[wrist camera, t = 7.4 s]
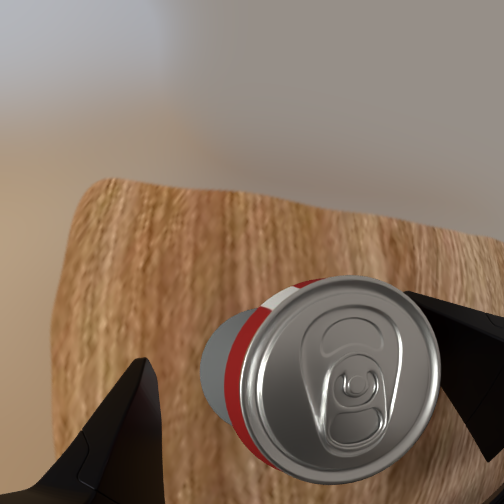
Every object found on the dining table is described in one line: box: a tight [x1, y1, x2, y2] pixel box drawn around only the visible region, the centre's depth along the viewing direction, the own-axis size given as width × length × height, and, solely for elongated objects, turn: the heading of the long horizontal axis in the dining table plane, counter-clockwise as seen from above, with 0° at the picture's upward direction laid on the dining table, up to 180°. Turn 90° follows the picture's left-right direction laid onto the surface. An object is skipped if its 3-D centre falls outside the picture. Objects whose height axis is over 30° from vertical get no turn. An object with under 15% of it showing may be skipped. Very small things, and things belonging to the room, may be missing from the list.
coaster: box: [200, 308, 258, 426], centre depth 16 cm, size 8×8×1 cm
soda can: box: [224, 275, 441, 485], centre depth 10 cm, size 5×5×12 cm
